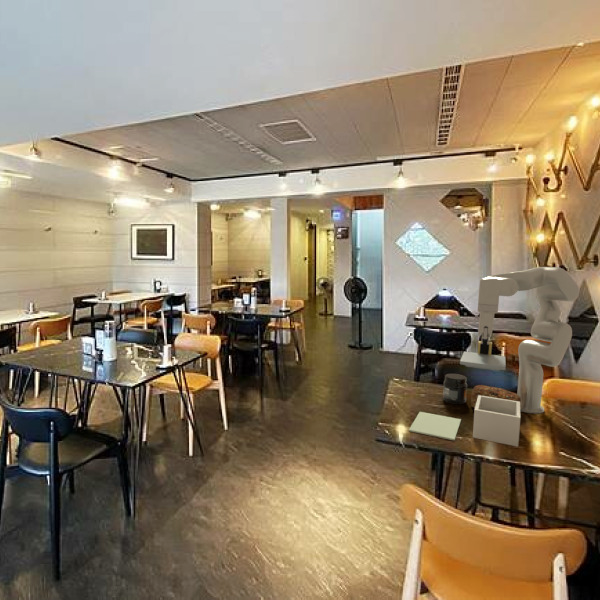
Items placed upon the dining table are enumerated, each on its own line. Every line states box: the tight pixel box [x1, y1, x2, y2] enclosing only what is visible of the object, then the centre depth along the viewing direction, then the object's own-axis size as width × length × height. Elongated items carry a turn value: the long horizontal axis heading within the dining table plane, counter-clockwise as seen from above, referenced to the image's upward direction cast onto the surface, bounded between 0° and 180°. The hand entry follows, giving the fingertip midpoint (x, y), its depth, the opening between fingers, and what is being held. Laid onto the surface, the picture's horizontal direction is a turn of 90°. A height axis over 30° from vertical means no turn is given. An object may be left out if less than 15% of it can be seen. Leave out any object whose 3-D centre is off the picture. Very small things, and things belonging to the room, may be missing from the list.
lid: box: [459, 340, 507, 372], centre depth 161 cm, size 21×15×7 cm
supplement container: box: [442, 373, 468, 405], centre depth 195 cm, size 10×10×12 cm
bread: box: [470, 384, 521, 409], centre depth 185 cm, size 19×11×10 cm, turn 50°
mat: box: [408, 411, 462, 441], centre depth 167 cm, size 21×17×1 cm
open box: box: [472, 395, 521, 447], centre depth 161 cm, size 18×15×11 cm
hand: (484, 352), depth 168 cm, fingers closed on lid, 4 cm apart
